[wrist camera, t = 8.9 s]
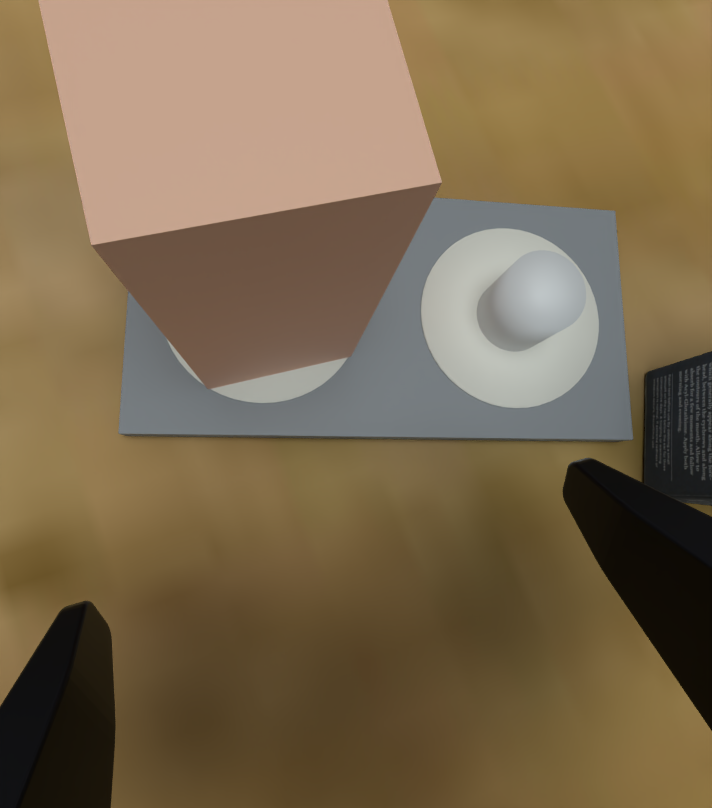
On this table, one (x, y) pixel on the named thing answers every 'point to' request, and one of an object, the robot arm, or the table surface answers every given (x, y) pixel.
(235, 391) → the plate
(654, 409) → the box
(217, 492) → the table surface
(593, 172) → the table surface
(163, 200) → the pink block
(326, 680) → the table surface
